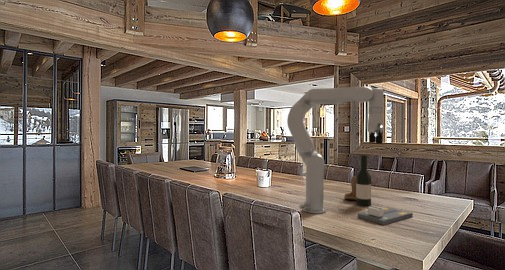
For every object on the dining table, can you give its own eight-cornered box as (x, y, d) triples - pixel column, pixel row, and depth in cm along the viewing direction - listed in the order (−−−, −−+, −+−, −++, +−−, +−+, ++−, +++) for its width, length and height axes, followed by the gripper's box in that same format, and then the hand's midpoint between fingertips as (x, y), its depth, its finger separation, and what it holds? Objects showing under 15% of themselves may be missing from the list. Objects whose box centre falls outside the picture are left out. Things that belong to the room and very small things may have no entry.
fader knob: (378, 216, 143) (378, 209, 143) (367, 213, 148) (368, 206, 148) (383, 215, 145) (383, 207, 145) (372, 212, 150) (373, 205, 150)
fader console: (383, 225, 138) (383, 220, 138) (357, 217, 150) (357, 213, 150) (412, 216, 152) (412, 212, 152) (387, 210, 164) (387, 206, 164)
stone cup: (368, 198, 193) (369, 175, 193) (370, 202, 181) (370, 178, 181) (344, 196, 197) (344, 174, 197) (344, 200, 186) (344, 176, 186)
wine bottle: (361, 207, 171) (362, 154, 170) (353, 203, 179) (353, 153, 178) (374, 206, 173) (374, 154, 173) (365, 202, 181) (365, 153, 181)
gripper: (363, 112, 169) (363, 142, 170) (374, 110, 152) (374, 143, 152) (376, 112, 169) (376, 142, 170) (389, 110, 152) (389, 143, 152)
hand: (375, 143), depth 161 cm, fingers open, 9 cm apart
